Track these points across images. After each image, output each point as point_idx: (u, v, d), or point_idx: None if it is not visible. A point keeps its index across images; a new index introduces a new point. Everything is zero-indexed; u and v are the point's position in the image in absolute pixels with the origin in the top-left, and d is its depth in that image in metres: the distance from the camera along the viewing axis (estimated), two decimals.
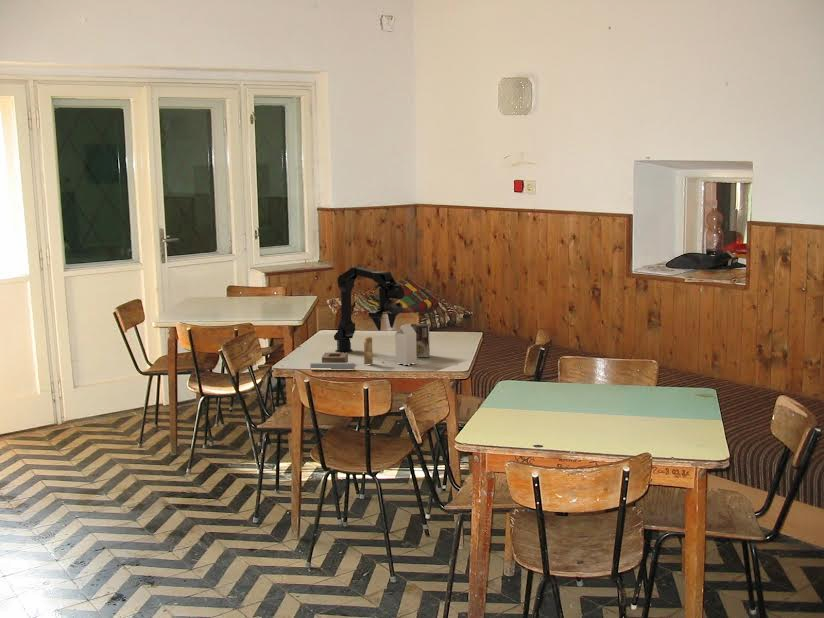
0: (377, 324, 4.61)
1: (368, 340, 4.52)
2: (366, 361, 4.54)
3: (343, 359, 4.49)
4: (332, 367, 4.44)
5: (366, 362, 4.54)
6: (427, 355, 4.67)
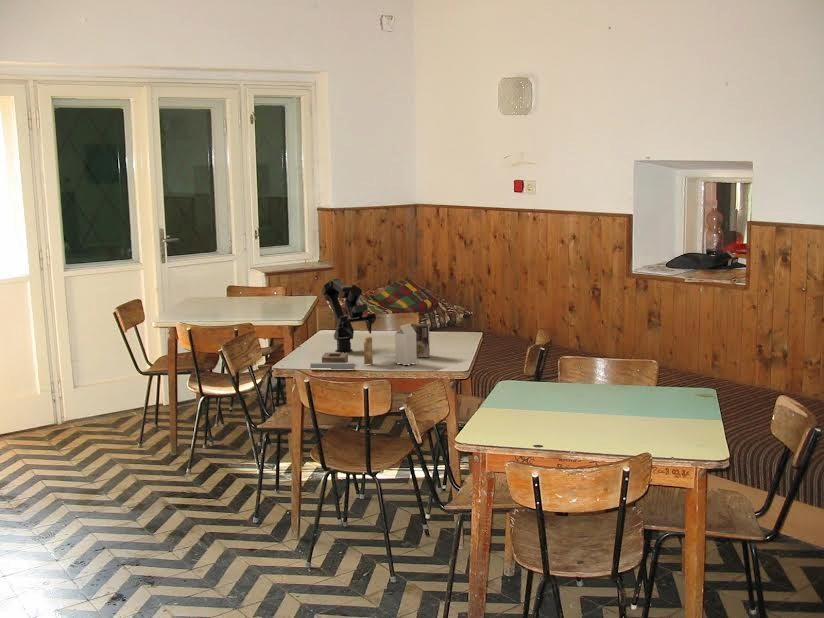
0: (348, 330, 4.60)
1: (368, 340, 4.52)
2: (366, 361, 4.54)
3: (343, 359, 4.49)
4: (332, 367, 4.44)
5: (366, 362, 4.54)
6: (427, 355, 4.67)
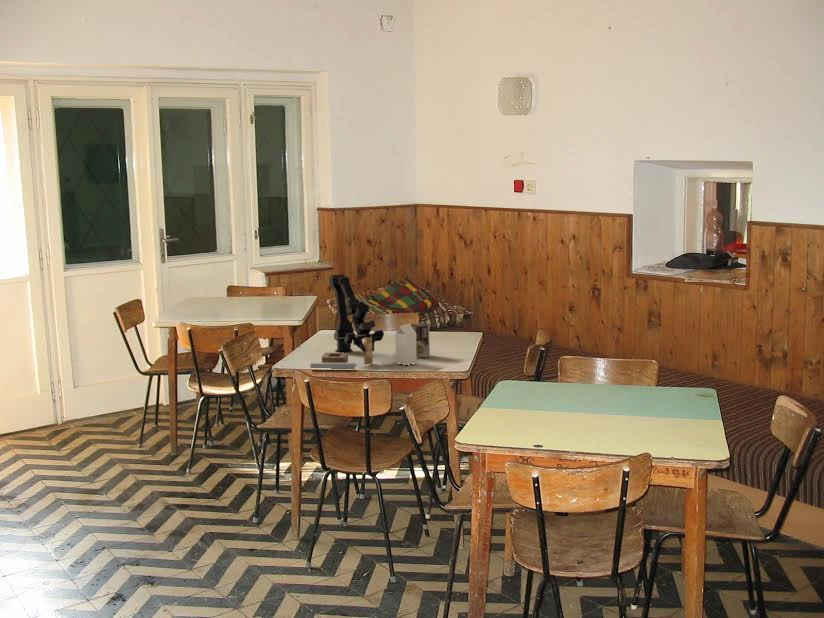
0: (360, 347, 4.54)
1: (368, 340, 4.52)
2: (366, 361, 4.54)
3: (343, 359, 4.49)
4: (332, 367, 4.44)
5: (366, 362, 4.54)
6: (427, 355, 4.67)
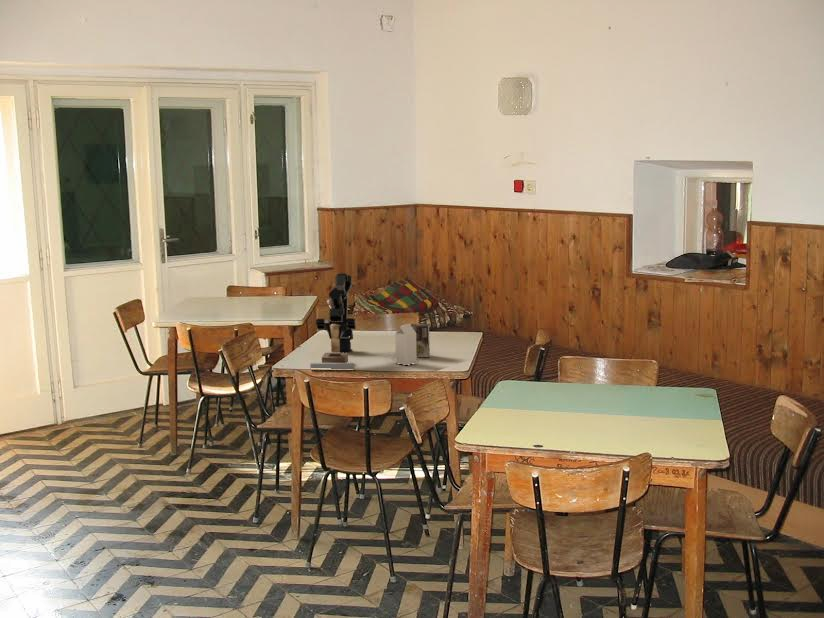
0: (328, 333, 4.53)
1: (333, 327, 4.50)
2: (332, 348, 4.52)
3: (343, 359, 4.49)
4: (332, 367, 4.44)
5: (332, 349, 4.52)
6: (427, 355, 4.67)
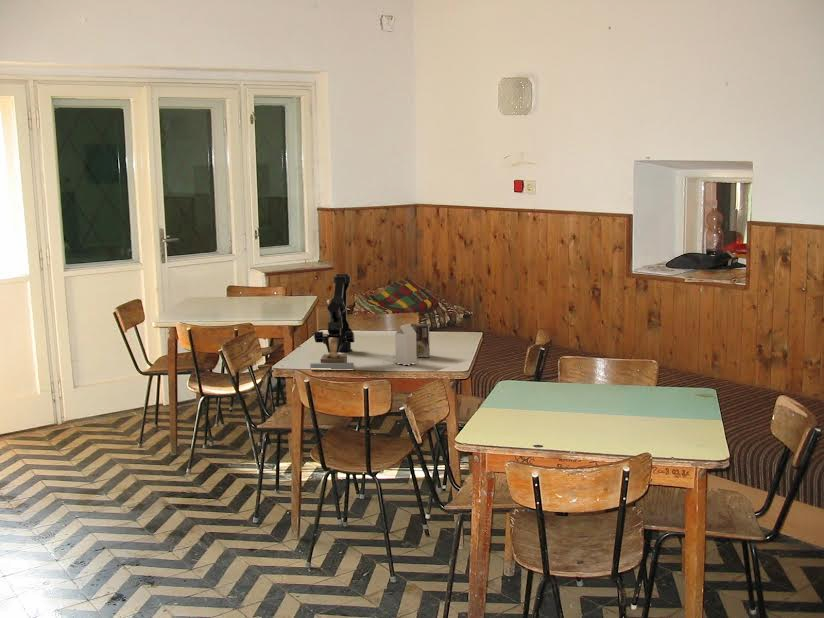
0: None
1: (331, 340, 4.47)
2: None
3: (342, 361, 4.45)
4: (332, 367, 4.44)
5: None
6: (427, 355, 4.67)
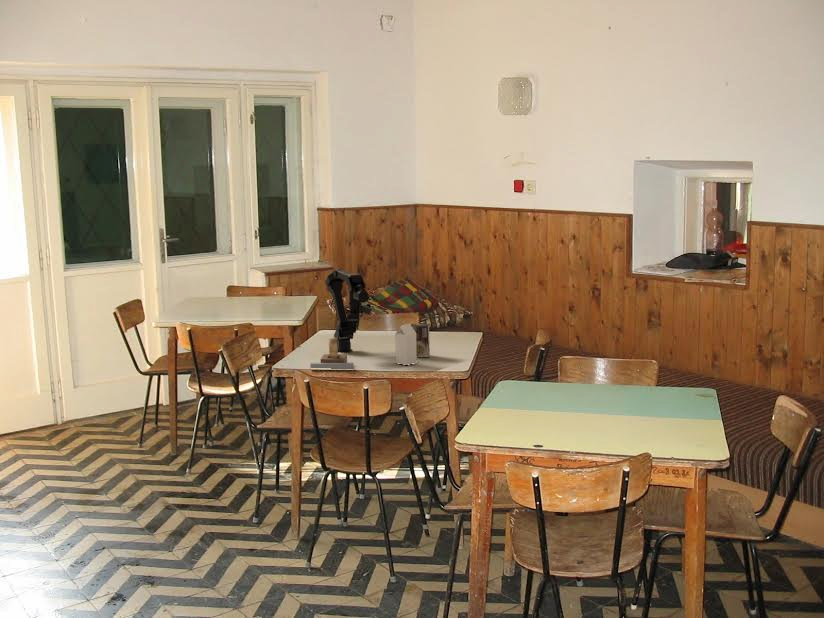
0: (354, 326, 4.65)
1: (331, 341, 4.47)
2: None
3: (342, 361, 4.45)
4: (332, 367, 4.44)
5: None
6: (427, 355, 4.67)
